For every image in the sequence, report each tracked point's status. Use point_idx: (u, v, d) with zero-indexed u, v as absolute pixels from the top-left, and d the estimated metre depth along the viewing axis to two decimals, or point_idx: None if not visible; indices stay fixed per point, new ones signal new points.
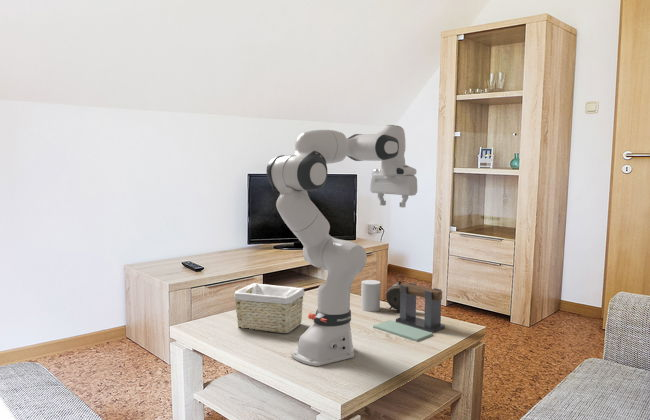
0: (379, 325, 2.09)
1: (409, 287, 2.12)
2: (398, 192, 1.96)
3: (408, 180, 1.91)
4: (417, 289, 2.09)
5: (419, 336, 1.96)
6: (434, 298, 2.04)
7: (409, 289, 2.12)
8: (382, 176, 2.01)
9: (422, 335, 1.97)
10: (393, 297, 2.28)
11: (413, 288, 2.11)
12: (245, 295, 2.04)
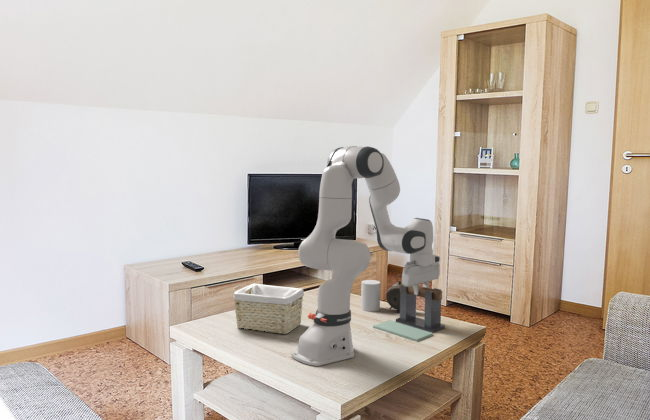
0: (379, 325, 2.09)
1: (409, 287, 2.12)
2: (430, 278, 2.11)
3: (439, 265, 2.14)
4: None
5: (419, 336, 1.96)
6: (434, 298, 2.04)
7: (409, 289, 2.12)
8: (419, 267, 2.05)
9: (422, 335, 1.97)
10: (393, 297, 2.28)
11: None
12: (244, 296, 2.03)
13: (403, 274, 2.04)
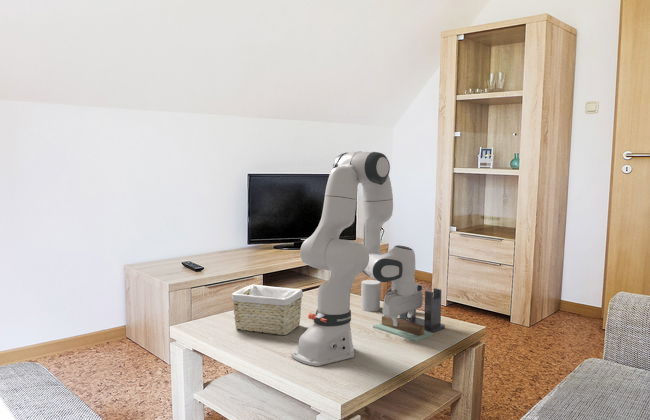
0: (379, 325, 2.09)
1: (391, 320, 2.06)
2: (413, 308, 2.05)
3: (422, 294, 2.07)
4: (399, 323, 2.03)
5: (419, 336, 1.96)
6: (416, 333, 1.98)
7: (391, 322, 2.06)
8: (400, 297, 1.99)
9: (422, 335, 1.97)
10: None
11: None
12: (243, 297, 2.02)
13: (384, 304, 1.97)
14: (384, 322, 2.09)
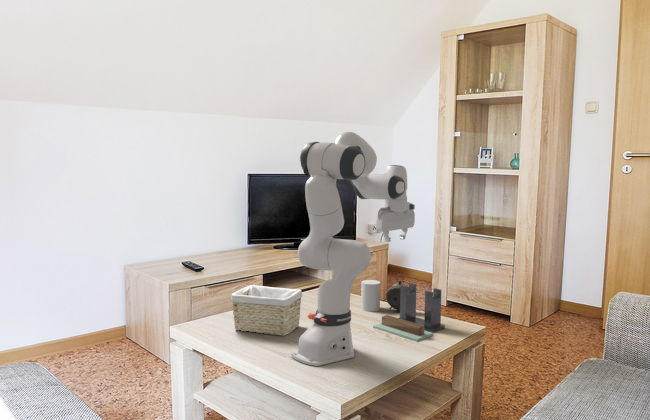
0: (379, 325, 2.09)
1: (391, 320, 2.06)
2: (405, 226, 2.14)
3: (414, 214, 2.16)
4: (399, 323, 2.03)
5: (419, 336, 1.96)
6: (416, 333, 1.98)
7: (391, 322, 2.06)
8: (393, 214, 2.08)
9: (422, 335, 1.97)
10: (393, 297, 2.28)
11: (395, 321, 2.05)
12: (242, 297, 2.01)
13: (377, 220, 2.06)
14: (384, 322, 2.09)
